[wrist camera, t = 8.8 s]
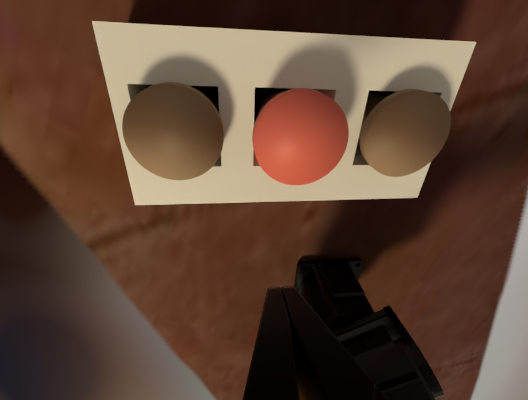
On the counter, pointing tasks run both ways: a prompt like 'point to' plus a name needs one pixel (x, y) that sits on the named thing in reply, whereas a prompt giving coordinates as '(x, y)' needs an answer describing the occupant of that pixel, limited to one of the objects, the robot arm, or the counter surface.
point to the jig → (272, 76)
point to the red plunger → (299, 136)
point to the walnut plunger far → (403, 131)
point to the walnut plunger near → (173, 131)
